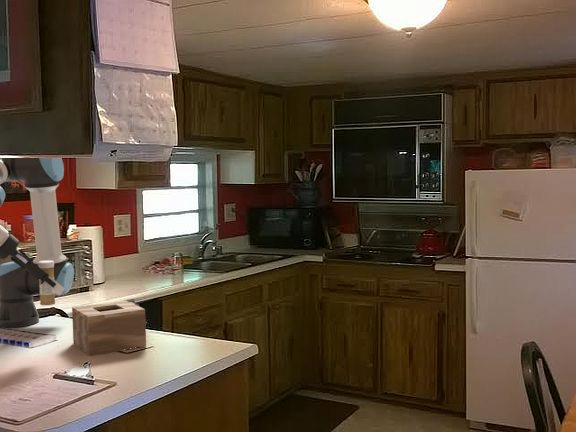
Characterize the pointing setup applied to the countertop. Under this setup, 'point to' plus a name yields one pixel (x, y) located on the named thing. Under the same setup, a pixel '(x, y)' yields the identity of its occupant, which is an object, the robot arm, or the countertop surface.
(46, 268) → the sprinkles bottle
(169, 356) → the countertop surface
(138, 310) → the walnut drop box
